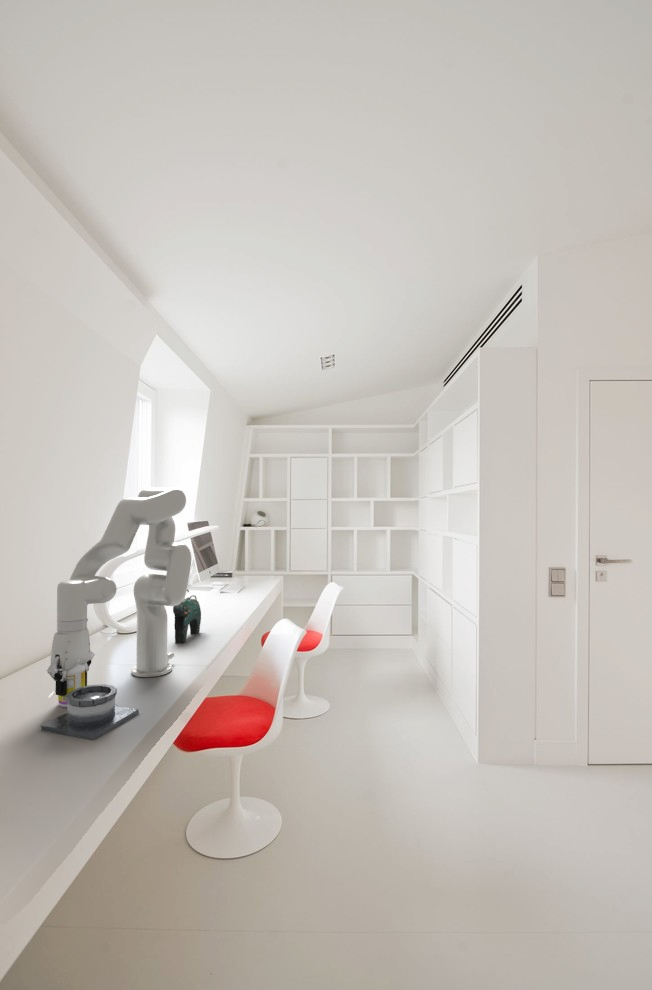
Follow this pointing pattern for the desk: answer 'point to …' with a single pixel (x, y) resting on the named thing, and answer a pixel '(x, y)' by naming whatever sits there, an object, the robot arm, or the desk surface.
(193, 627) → the green elephant figurine
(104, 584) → the robot arm
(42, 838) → the desk surface
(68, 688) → the supplement bottle
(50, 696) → the picture light
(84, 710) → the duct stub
